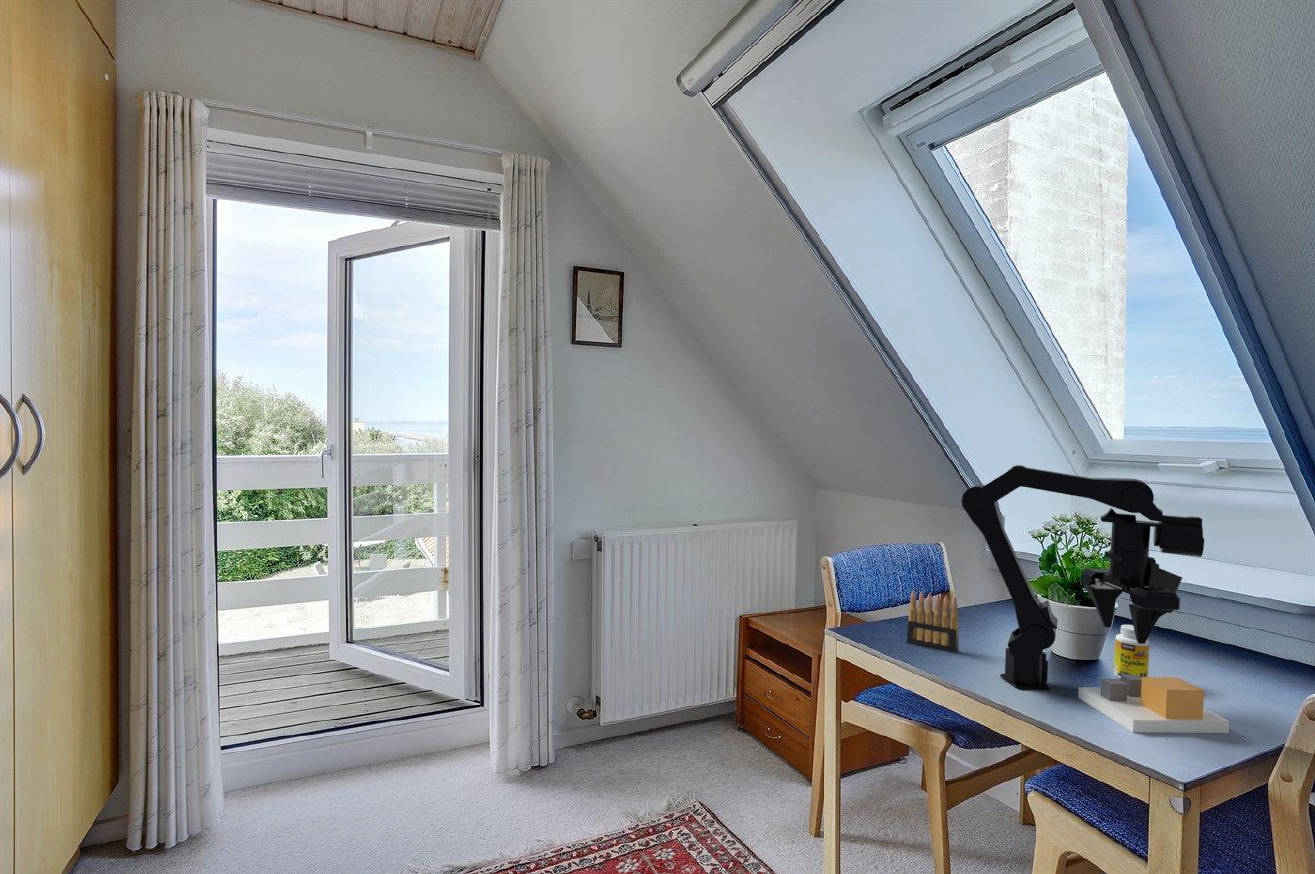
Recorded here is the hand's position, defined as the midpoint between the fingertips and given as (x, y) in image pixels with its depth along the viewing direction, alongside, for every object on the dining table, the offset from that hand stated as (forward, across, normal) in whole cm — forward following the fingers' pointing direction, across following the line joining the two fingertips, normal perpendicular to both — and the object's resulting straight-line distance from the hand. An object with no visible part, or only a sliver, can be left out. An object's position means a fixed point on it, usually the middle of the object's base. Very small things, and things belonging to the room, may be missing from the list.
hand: (1123, 634), depth 127 cm
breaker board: (+12, -6, -1) cm, 13 cm away
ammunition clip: (+13, +28, +23) cm, 39 cm away
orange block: (+10, -9, -2) cm, 14 cm away
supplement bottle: (+12, +12, -10) cm, 19 cm away
